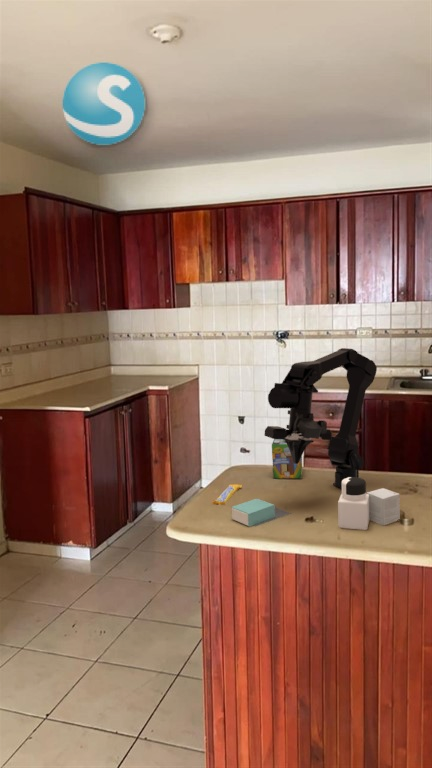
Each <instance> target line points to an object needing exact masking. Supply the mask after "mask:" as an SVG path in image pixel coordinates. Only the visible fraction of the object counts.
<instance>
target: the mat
mask: <svg viewBox="0 0 432 768" xmlns="http://www.w3.org/2000/svg"><path fill="white" fill-rule="evenodd" d="M291 514H292V512H289V511H287V510H284V509H281V508H279V507H276V506H275V517H274V518H272V519H269V520H266V521H264V522H261V523H258V524H255V525H253V527H258V526H262V525H263V524H266V523H269V522H272V521H275V520H277V519H280V518H283V517H285V516H288V515H291Z"/></svg>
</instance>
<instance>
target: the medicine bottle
mask: <svg viewBox="0 0 432 768" xmlns="http://www.w3.org/2000/svg"><path fill="white" fill-rule="evenodd" d="M366 490H367V483H366V480H365V479H363V478H360V477H359V478H358V477H348V478H345V479H343V480H342V488H341V494H340V496H339V499H338V501H337V513H338V514H337V515H338V516H337V517H338V518H337V519H338V520H337V522H338V523H337V524H338V527H339V528H340V529H348V530H350V529H351V530H361V531H366V530H368V526H369V524H370V523H369V522H370V521H371V520H370V509H369V494H367V491H366Z"/></svg>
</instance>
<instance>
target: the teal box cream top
mask: <svg viewBox="0 0 432 768" xmlns="http://www.w3.org/2000/svg"><path fill="white" fill-rule="evenodd" d="M275 507H276V506H275V504H273V503H270V502H268V501H264V500H262V499H259V498H254V499H251V500H248V501H245V502H242V503H239V504H235V505H233V506H231V519H232V521H235V522H236V523H237V522H238V523H240V524H242V525H245V526H247V527H249V528H250V527H252V526H253V525H255V524H258V523H261V522H264V521H266V520H269V519H272V518H274V517H275ZM253 527H254V526H253Z"/></svg>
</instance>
